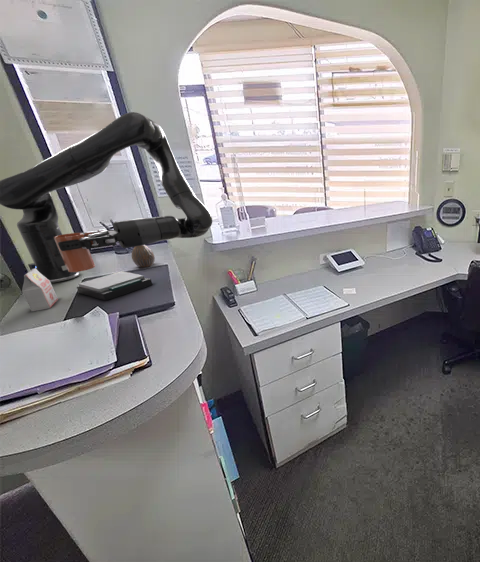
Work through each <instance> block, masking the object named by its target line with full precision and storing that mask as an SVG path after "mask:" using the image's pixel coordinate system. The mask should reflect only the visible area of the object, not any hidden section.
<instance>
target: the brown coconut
mask: <svg viewBox="0 0 480 562" xmlns="http://www.w3.org/2000/svg"><path fill="white" fill-rule="evenodd" d="M130 257H131V260H132V262H133V263H134V264H135V265H136V266H137V267H139V268H147V267H152V265H154V263H155V259H156V258H155V257H156V256H155V254H154V252H153V250H152V249H151V248H149V247H148V246H147V245H141V246H135V247H133V248H132V251H131V255H130Z"/></svg>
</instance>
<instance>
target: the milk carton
mask: <svg viewBox="0 0 480 562" xmlns="http://www.w3.org/2000/svg"><path fill="white" fill-rule="evenodd" d="M21 293H22V294H23V296H24V299H25V301H26V303H27V304H28V307H29V309H30V311H31V312H37V311H41V310H47V309H51V308H52V307H53V306H54V305H55V304H56V302H57V301H59V297H58V296H57V294H56V291H55V289H54V286H53V285H52V283H51V282H50V280H48V279H47V278H46V277H45V276H43V275H42V274H41V273H40V272H39V271H38V270H37V269H36V268H35V269H32V270H30V271H27V273H24V275H23V284H22V289H21Z"/></svg>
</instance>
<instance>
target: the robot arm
mask: <svg viewBox="0 0 480 562" xmlns="http://www.w3.org/2000/svg"><path fill="white" fill-rule="evenodd" d="M132 146H136V147H139V148H141V149H142V150H145V152H146V153H147V154H148V155H149V156H150V158H151V159H152V160H153V162H154V163H155V165H156V167H157V170H158V175H159V179H160V180H159V181H160V182H161V186H162V188H163V190H164V191H165V193H166V195H167V196H168V198H169V199H170V201H171V204H172V205H174V207H175V208H176V209H178V210H181V211H182V212H183V213H184V215H185V217H183V218H177V217H175V216H173V215H162V216H154V217H139V218H133V219H124V220H117V221H113V222H112V227H113V230H107V229H106V228H104V229H98V230H97V229H96V230H91V231H84V232H82V233H83V235H84V238H80V239H79V241H78V239H75V240H69V241H62V242H59V243H58V245H59V248H60V250H61V251H67V250H73V249H79V248H81V247H82V249H86V248H87V249H89V250H92V249H98V248H99V249H100V248H105V247H111V246H113V247H115V246H117V245H118V244H119V245H120V247H121V248H123V249H130V248H134V247H135V246H141V245H145V246H147V245H151V244H155V243H158V242H162V241H169V240H172V239H191V238H193V239H194V238H198V237H202V236H204V235H205V234H207V233H208V231H209V230H210V229H211V227H212V225H213V216H212V214H211V212H210V211H209V209H208V208H207V206H205V205H204V203H202V201H201V200H200V199H199V198H198V197H197V196H196V194H195V192H194V190H193V189H192V187H191V186H190V183H188V181H187V179H186V177H185V176H184V174H183V172H182V171H181V169H180V166H179V165H178V163H177V161H176V158H175V156H174V153H173V151H172V149H171V146H170V144H169V142H168V139H167V136H166V134H165V132H164V130H163V128H162V127H161V126H160V125H159V124H158V123H157V122H156V121H153V120H152V119H150V117H149V118H148V117H147V116H145V115H144V114H141V113H140V112H136V111H134V112H133V111H130V112H127V113H124V114H122V115H119V117H117V118H115V120H113V121H112V122H110V123H108V124H107V125H106V126H104V127H103V128H101V129H100V130H99V131H97V132H95V133H93V134H91V135H90V136H88V137H85V138H84V139H82V140H81V141H78V142H77V143H74V144H72V145H70V146H68V147H67V148H64V149H62V150H60V151H59V152H57V153H55V154H54V155H52V156H50V157H48V158H47V159H44V160H42V161H41V162H39V163H37V164H36V165H34V166H32V167H31V168H29V169H27V170H24V171H22V172H19V173H17V174H14V175H12V176H9V177H5V178H3V179H1V180H0V205H1V206H3V207H4V208H6V209H9V210H10V209H11V210H18V211H19V210H22V217H21V219H20V220H19V221H17V223H16V227H17V230H18V231H19V233H20V236H21V238H22V240H23V242H24V244H25V246H26V249H27V251H28V253H29V255H30V257H31V259H32V263H28V264H27V266H28V268H29V270H30V271H31V270H32V269H35V268H36V269H37V270H38V271H39V272H40V273H41V274H42V275H43V276H45V277H46V278H47V279H48V280H50V282H51V284H54V283H61V282H66V281H69V280H73V279H75V278H77V277H79V276H80V273H79V272H68V270H67V268H66V265H65V263H64V261H63V258H62V256H61V254H60V251H59V249H58V247H57V244H56V242H55V240H54V237H55V236H58V235H63V232H62V230H61V228H60V225H59V213H58V209H57V208H56V204H55V202H54V198H53V196H52V193H51V192H53V191H57V190H60V189H63V188H68V187H71V186H74V185H78V184H80V183H84V182H86V181H88V180H90V179H92V178H94V177H96V176H98V175H100V174H101V173H103V172H105V171H106V169H107V168H108V167H109V165H110V164H111V161H112V159H113V157H114V156H115V155H116V154H118V153H119V152H121V151H123V150H125V149H127V148H130V147H132ZM117 243H118V244H117Z"/></svg>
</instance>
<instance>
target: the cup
mask: <svg viewBox="0 0 480 562" xmlns="http://www.w3.org/2000/svg"><path fill="white" fill-rule="evenodd" d="M83 233H84V232H71V233H70V232H69V233H64V234H63V233H62V235H58V236H55V237H54V240H55V242H56V244H57V247H58V249H59V251H60V254H61V256H62V258H63V261H64V263H65V265H66V268H67V270H68V272H78V273H79V272H84V271H88V270H92V269H94V268H95V267H96V264H95V261H94V259H93V255H92V253H91V251H90V249H87V248H86V249H82V247H81V248H79V249H73V250H67V251H61V250H60V248H59V245H58V243H59V242H62V241H69V240H75V239H78V241H79V239H80V238H85V236H84V235H83Z"/></svg>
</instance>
